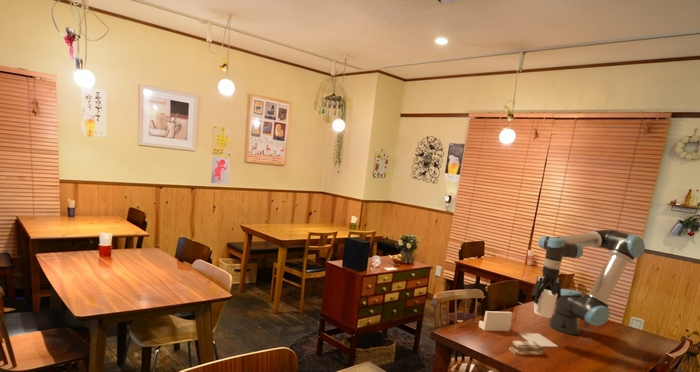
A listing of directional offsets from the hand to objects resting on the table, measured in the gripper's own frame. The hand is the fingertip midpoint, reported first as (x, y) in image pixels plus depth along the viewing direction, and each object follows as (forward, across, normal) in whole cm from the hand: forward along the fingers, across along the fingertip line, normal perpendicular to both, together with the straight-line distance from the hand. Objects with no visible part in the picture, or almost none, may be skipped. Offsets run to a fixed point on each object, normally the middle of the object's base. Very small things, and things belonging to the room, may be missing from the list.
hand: (543, 309), depth 190 cm
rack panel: (+17, -17, +13) cm, 27 cm away
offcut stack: (+17, -17, -11) cm, 27 cm away
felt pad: (+17, 0, 0) cm, 17 cm away
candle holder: (+3, 0, 0) cm, 3 cm away
